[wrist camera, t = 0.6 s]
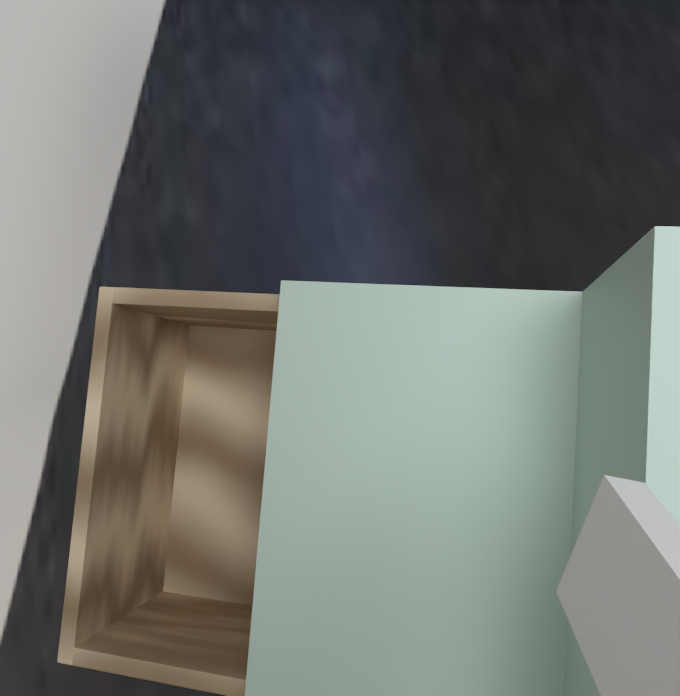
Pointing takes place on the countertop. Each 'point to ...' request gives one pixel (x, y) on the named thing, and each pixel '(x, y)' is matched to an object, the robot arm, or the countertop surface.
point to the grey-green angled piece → (453, 475)
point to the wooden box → (171, 487)
